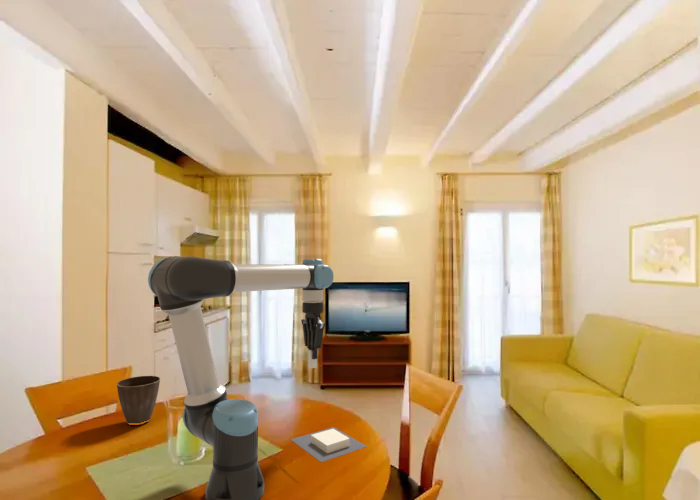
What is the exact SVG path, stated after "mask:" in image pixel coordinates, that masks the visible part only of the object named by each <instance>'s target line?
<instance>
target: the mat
mask: <svg viewBox="0 0 700 500" xmlns="http://www.w3.org/2000/svg"><path fill="white" fill-rule="evenodd" d="M330 429H335V430H336V431H338V432H340V433H342V434H343V435H345V436H347V437H348V438H350V446H348V447H345V448H342V449H339V450H336V451H333V452H330V453H326V452H324V451H323V450H321V449H320V448H318V447H317V446H316V445H314V444H313V443H311V435H313V434H316V433H319V432H323V431H326V430H330ZM290 441H292V442H293V443H294V444H296V445H297V446H299V447H300V448H301V449H302V450H303V451H305V452H306V453H308V454H309V455H311V456H312V457H313V458H315V459H316V460H317V461H319V462H320V463H323V462H326V461H329V460H332V459H335V458H338V457H341V456H343V455H344V456H345V455H347V454H350V453H354V452H356V451H359V450H361V449H365V448H367V447H368V446H367V445H366V444H364V443H362V442H360V441H359V440H357V439H355V438H354V437H352V436H351V435H348V434H347V433H345V432H343V431H341V430H339V429H338V428H337V427H335V426H333V427H332V426H331V427H329V428H325V429H322V430H318V431H316V432H311V433H308V434H304V435H300V436H298V437H293V438H290Z"/></svg>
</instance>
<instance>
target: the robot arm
mask: <svg viewBox="0 0 700 500" xmlns="http://www.w3.org/2000/svg"><path fill="white" fill-rule="evenodd" d="M301 263H302V264H298V263H297V264H294V263H293V264H290V263H289V264H287V263H283V264H282V263H281V264H277V263H275V264H269V263H268V264H262V263H261V264H259V263H258V264H252V263H251V264H247V263H245V264H243V263H241V264H240V263H239V264H238V263H236V264H235V263H233V262H232V261H231V260H220V259H211V258H205V257H199V256H189V255H188V256H178V255H177V256H176V255H175V256H168V257H164V258H161V259H160V260H158V261H157V262H155V263H154V264H153V266H152V267H151V269H150V271H149V272H148V276H147V282H148V287H149V289H150V290H151V292H152V293H153V294H154V295H155V296H156V297H157V300H158V303H159V304H158V305H159V307H160V311H162V312H163V313H165V314H167V315H168V318H169V322H170V326H171V330H172V335H173V338H174V343H175V345H176V350H177V355H178V358H179V363H180V367H181V369H182V371H181V372H182V374H183V378H184V381H185V386H186V389H187V394H186V396H185V397H184V399H183V402H184V403H183V404H184V407H185V408H183V411H182V422H183V424H184V427H185V428H186V430H187V431H188V432H189V433H190V434H191V435H192V436H194V437H195V438H198V439H200V440H201V441H203V442H205V443H206V444H207V445H210V446H211V447H212V468H211V472H210V475H209V478H208V481H207V484H206V487H205V500H260V499H261V498H262V497H263V495H264V493H265V479H264V476H263V472H262V470H261V468H260V463H259V459H258V458H259V456H258V455H259V454H258V453H259V422H260V421H259V414H258V413H259V411H258V408H257V407H256V405H255V404H254V403H253V402H252V401H249V400H247V399H240V398H229V397H228V393H227V388H226V386H225V385H224V384H221V383H219V379H218V374H217V371H216V367H215V362H214V358H213V353H212V349H211V345H210V344H211V343H210V341H209V337H208V332H207V327H206V324H205V320H204V315H203V311H202V305H203V303H204V301H205V300H206V299H207V300H209V299H213V298H220V297H221V298H222V297H230V296H232V294H233V293H241V292H243V293H244V292H259V291H260V292H262V291H281V290H299V289H300V290H301V289H302V297H301V298H302V301H303V302H302V310H301V311H302V313H303V314H304V318H303V319H301V325H302V331H303V341H304V346H305V347H306V348H307V349H308V350H307V351H308V353H307V354H308V360H307V361H308V368H309V369H311V370H312V369H315V368H318V350H319V349H322V345H323V338H324V337H323V336H324V335H323V334H324V329H325V326H326V322H323V321H322V316H321V313H323V312H324V302H323V301H324V289H327V288H329V287H330V286H332V284H333V281H334V276H335V275H334V270H333V269H332V268H331V266H329V265H328V264H324V261H323V259H321V258H304V259H303V260H302V262H301Z"/></svg>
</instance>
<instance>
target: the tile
mask: <svg viewBox="0 0 700 500" xmlns="http://www.w3.org/2000/svg"><path fill="white" fill-rule="evenodd" d="M311 443H313V444H314V445H316V446H317V447H318V448H320V449H321V450H323V451H324V452H326V453H330V452H333V451H336V450H339V449H342V448H345V447H348V446H350V438H348V437H347V436H345V435H343V434H342V433H340V432H338V431H336V430H335V429H330V430H326V431H323V432H319V433H316V434H313V435H311Z"/></svg>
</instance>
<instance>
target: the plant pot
mask: <svg viewBox="0 0 700 500" xmlns="http://www.w3.org/2000/svg"><path fill="white" fill-rule="evenodd" d="M160 381H161V377H160V376H156V375H141V376H140V375H139V376H133V377H129V378H124V379H122V380H119V381H118V382H117V383H116V387H117V395H118V399H119V403H120V407H121V410H122V413H123V416H124V418H125V421H126V423H127V422H128V423H141V422H144V421H147V420H149V419H150V420H151V417H152V415H153V414H154V413H153V412H154V409H155V406H156V402H157V398H158V393H159V390H160V389H159V388H160ZM128 423H127V424H128Z"/></svg>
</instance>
